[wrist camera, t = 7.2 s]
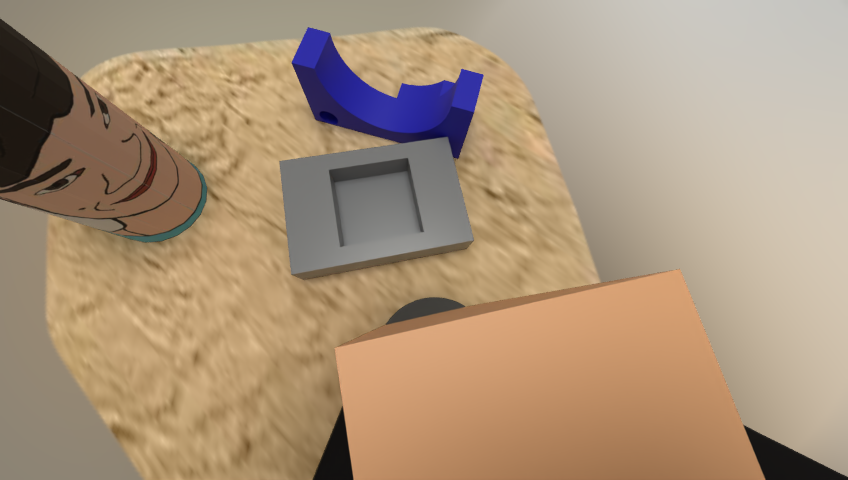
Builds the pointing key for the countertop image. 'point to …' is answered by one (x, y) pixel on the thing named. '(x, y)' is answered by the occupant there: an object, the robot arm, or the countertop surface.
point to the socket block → (372, 207)
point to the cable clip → (383, 98)
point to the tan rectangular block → (546, 391)
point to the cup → (86, 153)
